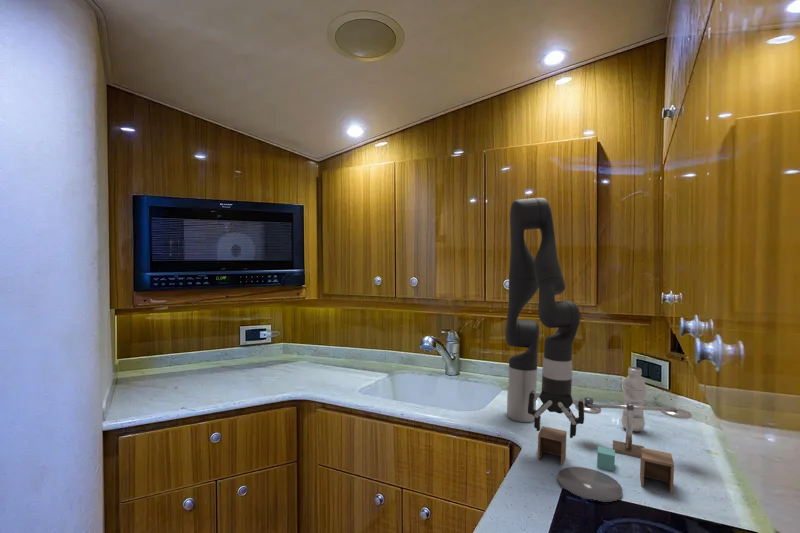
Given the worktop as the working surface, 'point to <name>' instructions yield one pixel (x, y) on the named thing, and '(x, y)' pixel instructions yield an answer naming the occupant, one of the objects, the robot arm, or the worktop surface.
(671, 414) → the balance
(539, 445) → the hiding cover
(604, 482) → the slate dish
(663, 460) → the empty cover
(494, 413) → the worktop surface
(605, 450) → the teal block
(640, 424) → the plastic bottle
